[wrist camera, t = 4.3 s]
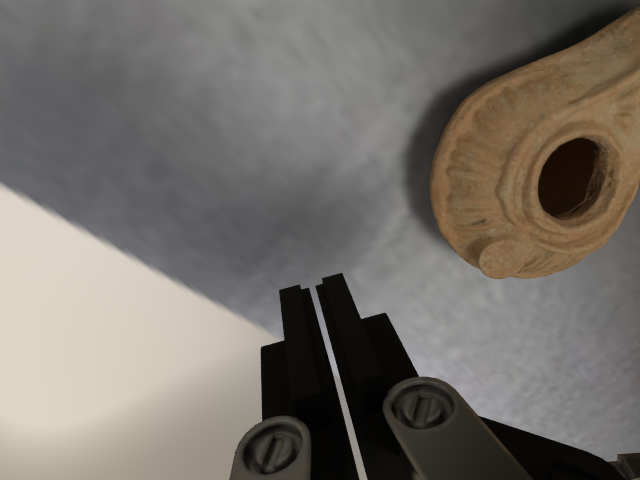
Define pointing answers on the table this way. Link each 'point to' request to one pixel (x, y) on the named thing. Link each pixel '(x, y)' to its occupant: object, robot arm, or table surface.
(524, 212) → the pottery oil lamp
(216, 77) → the table surface
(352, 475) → the robot arm
